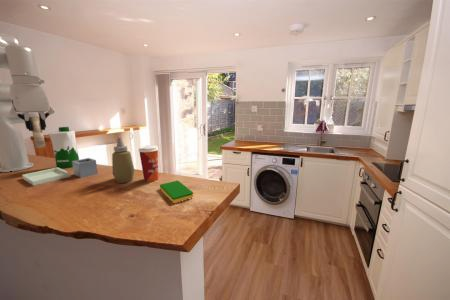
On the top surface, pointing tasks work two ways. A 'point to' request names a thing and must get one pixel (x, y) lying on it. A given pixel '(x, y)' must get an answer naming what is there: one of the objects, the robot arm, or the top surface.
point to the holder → (84, 167)
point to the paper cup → (149, 162)
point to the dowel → (37, 132)
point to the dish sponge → (176, 191)
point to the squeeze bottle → (122, 163)
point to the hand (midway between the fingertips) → (37, 129)
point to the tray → (46, 176)
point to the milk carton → (64, 147)
